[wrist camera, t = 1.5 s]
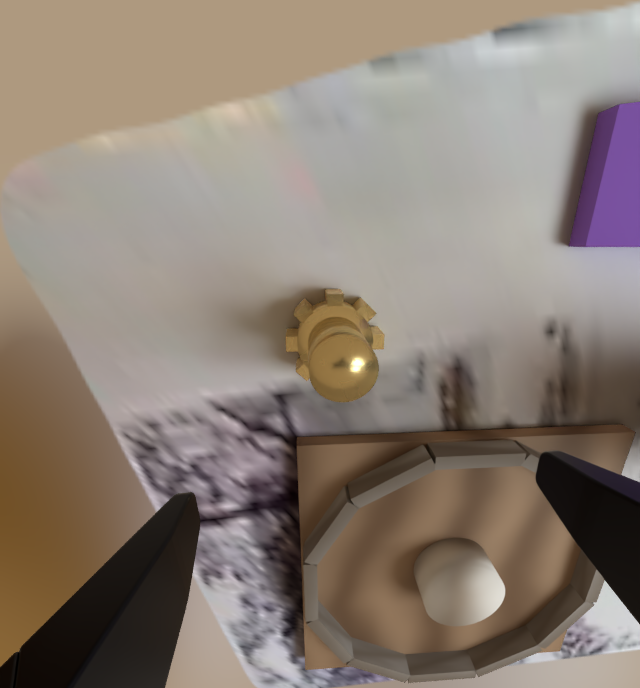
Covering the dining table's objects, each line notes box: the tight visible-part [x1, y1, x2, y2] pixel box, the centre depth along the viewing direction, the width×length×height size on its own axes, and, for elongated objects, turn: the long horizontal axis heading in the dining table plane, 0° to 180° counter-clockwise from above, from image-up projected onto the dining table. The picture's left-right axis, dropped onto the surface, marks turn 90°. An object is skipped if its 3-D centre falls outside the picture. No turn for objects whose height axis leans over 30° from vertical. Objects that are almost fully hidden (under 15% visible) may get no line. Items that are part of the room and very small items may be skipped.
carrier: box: [297, 424, 636, 683], centre depth 25 cm, size 24×24×4 cm
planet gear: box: [286, 289, 384, 402], centre depth 17 cm, size 6×6×6 cm
